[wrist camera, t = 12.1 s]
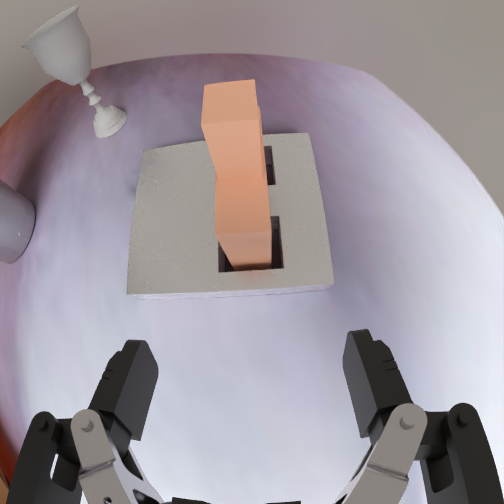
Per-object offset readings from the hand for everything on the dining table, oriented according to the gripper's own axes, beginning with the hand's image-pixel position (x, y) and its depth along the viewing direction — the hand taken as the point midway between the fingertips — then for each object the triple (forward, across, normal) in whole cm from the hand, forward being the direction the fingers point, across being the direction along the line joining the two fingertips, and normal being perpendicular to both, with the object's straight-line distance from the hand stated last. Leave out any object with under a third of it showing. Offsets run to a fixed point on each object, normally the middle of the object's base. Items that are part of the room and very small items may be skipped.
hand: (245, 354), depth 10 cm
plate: (+16, +2, 0) cm, 16 cm away
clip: (+16, 0, +1) cm, 16 cm away
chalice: (+28, +18, -11) cm, 35 cm away
